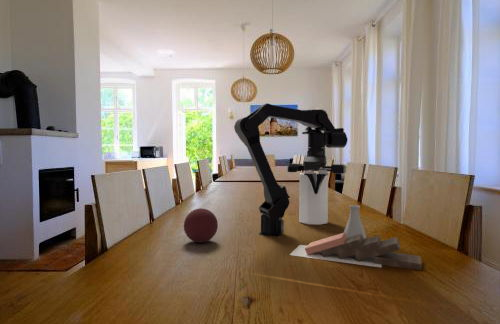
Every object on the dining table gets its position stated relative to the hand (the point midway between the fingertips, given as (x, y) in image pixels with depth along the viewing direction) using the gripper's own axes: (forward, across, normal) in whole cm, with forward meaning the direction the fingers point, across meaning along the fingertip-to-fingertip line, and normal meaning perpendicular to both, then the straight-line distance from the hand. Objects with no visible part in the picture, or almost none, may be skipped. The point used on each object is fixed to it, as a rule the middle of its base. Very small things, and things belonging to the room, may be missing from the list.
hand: (316, 193), depth 111 cm
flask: (+13, +13, -4) cm, 19 cm away
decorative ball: (+13, -28, -28) cm, 42 cm away
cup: (+13, -4, +13) cm, 19 cm away
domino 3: (+11, +12, -25) cm, 30 cm away
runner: (+12, +11, -25) cm, 30 cm away
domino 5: (+11, +20, -25) cm, 34 cm away
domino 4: (+11, +16, -25) cm, 32 cm away
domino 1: (+11, +4, -25) cm, 28 cm away
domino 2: (+11, +8, -25) cm, 29 cm away
